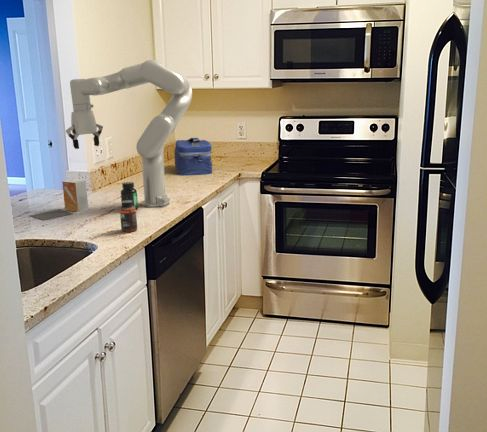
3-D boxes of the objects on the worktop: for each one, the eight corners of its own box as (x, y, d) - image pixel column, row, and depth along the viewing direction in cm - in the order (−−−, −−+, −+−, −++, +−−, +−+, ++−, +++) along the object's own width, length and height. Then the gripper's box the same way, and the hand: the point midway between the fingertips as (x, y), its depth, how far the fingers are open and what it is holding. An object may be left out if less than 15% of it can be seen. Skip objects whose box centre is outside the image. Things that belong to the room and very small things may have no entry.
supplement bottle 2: (138, 228, 214) (136, 199, 211) (136, 232, 208) (133, 202, 205) (122, 228, 214) (120, 199, 211) (120, 232, 208) (117, 203, 205)
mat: (73, 213, 239) (73, 213, 239) (43, 220, 229) (43, 219, 229) (59, 209, 247) (59, 209, 247) (29, 216, 237) (29, 215, 237)
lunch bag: (215, 175, 323) (214, 139, 318) (179, 177, 318) (177, 141, 313) (206, 166, 352) (205, 134, 347) (173, 168, 348) (171, 135, 342)
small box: (64, 210, 246) (61, 181, 243) (75, 207, 251) (72, 178, 248) (78, 212, 242) (75, 182, 239) (88, 209, 247) (86, 180, 244)
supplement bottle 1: (140, 210, 242) (138, 183, 239) (125, 212, 239) (122, 185, 236) (135, 207, 248) (133, 180, 245) (120, 209, 244) (117, 182, 241)
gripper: (95, 106, 252) (100, 144, 256) (59, 109, 241) (64, 149, 245) (104, 106, 246) (108, 145, 251) (67, 109, 235) (72, 150, 240)
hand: (86, 147), depth 248 cm, fingers open, 9 cm apart
